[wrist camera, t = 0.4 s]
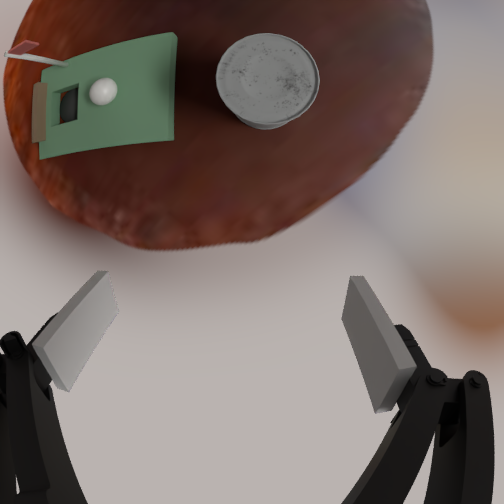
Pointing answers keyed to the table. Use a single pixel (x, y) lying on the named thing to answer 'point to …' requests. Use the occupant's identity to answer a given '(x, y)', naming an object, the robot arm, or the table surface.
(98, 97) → the ball
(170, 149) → the table surface
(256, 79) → the grey can
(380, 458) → the robot arm
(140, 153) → the table surface
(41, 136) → the green
